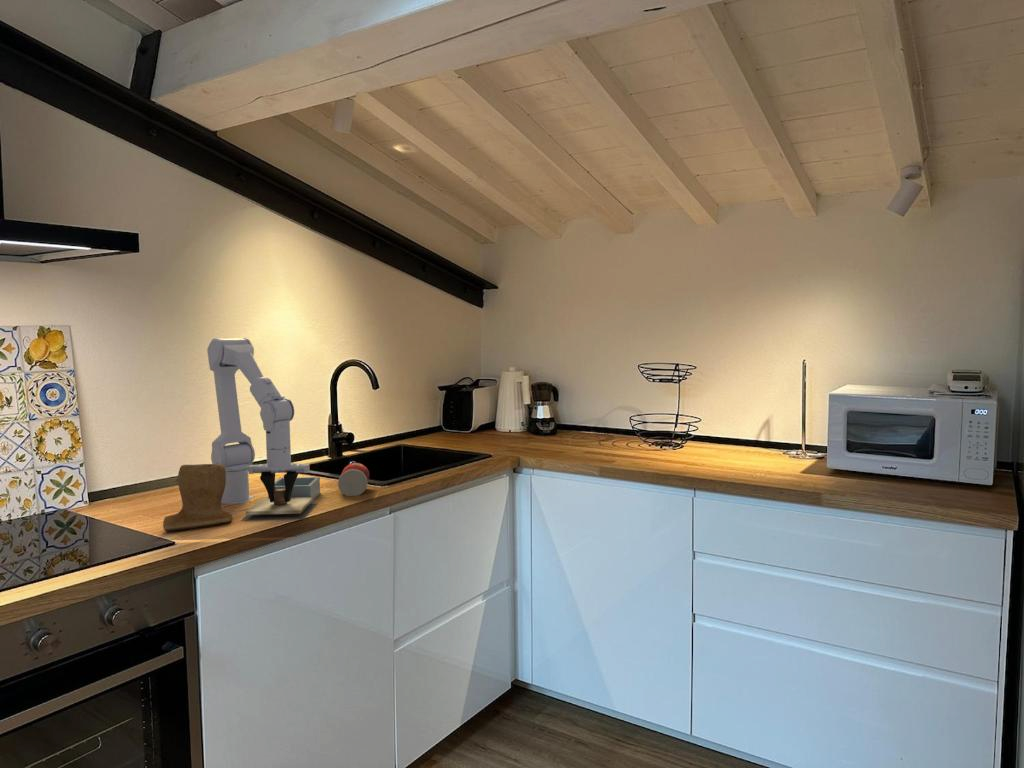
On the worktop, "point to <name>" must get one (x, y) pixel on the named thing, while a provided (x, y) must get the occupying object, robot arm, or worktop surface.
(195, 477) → the brown flared stand
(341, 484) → the canned food
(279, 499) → the birch lid
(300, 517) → the rubber mat
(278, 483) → the gray lidded box
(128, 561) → the worktop surface
